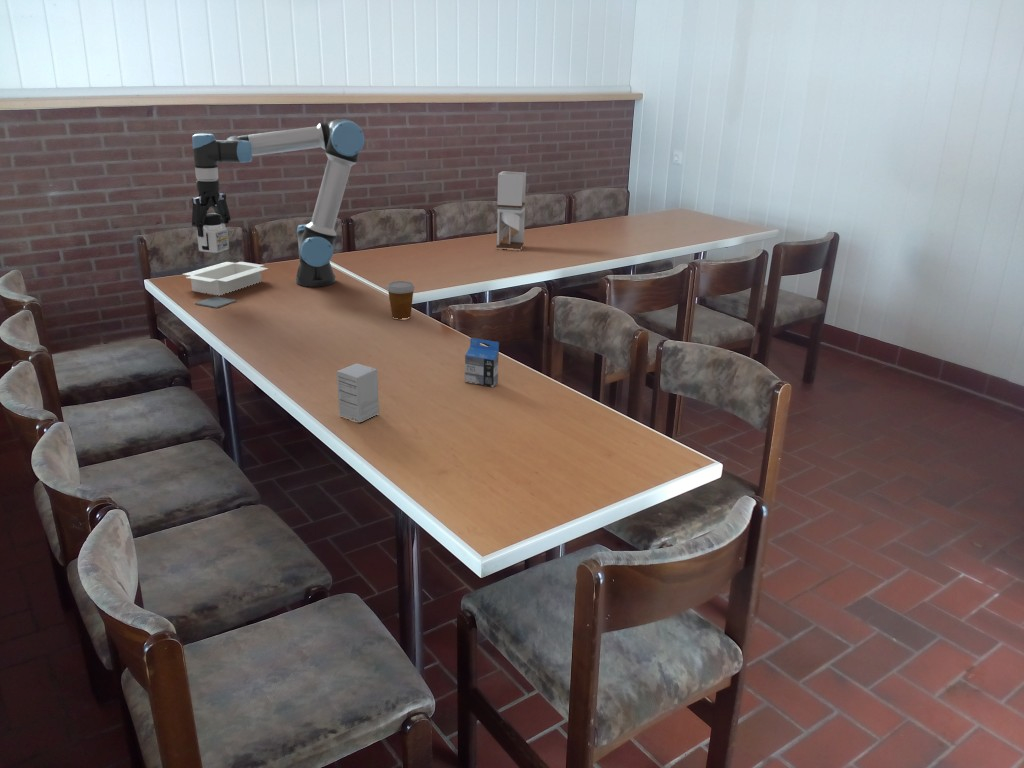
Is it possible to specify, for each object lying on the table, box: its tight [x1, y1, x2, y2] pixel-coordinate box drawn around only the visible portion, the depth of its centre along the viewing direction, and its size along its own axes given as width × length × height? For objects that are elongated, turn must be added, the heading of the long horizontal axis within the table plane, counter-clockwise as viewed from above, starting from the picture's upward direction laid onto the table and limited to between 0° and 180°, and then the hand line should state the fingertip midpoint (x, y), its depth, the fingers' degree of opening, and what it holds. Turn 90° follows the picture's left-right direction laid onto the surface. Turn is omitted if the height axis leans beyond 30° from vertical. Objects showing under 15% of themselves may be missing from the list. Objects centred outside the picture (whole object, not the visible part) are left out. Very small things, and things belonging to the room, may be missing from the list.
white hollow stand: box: [496, 170, 527, 250], centre depth 386 cm, size 11×11×35 cm
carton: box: [182, 261, 269, 297], centre depth 315 cm, size 21×29×6 cm
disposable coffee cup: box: [386, 280, 415, 319], centre depth 283 cm, size 10×10×12 cm
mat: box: [194, 295, 237, 309], centre depth 296 cm, size 10×10×1 cm
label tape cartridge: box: [464, 337, 500, 388], centre depth 229 cm, size 9×4×12 cm, turn 69°
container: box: [196, 212, 230, 254], centre depth 295 cm, size 8×8×13 cm
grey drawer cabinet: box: [336, 363, 380, 422], centre depth 205 cm, size 7×7×13 cm
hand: (213, 243), depth 296 cm, fingers closed on container, 9 cm apart
